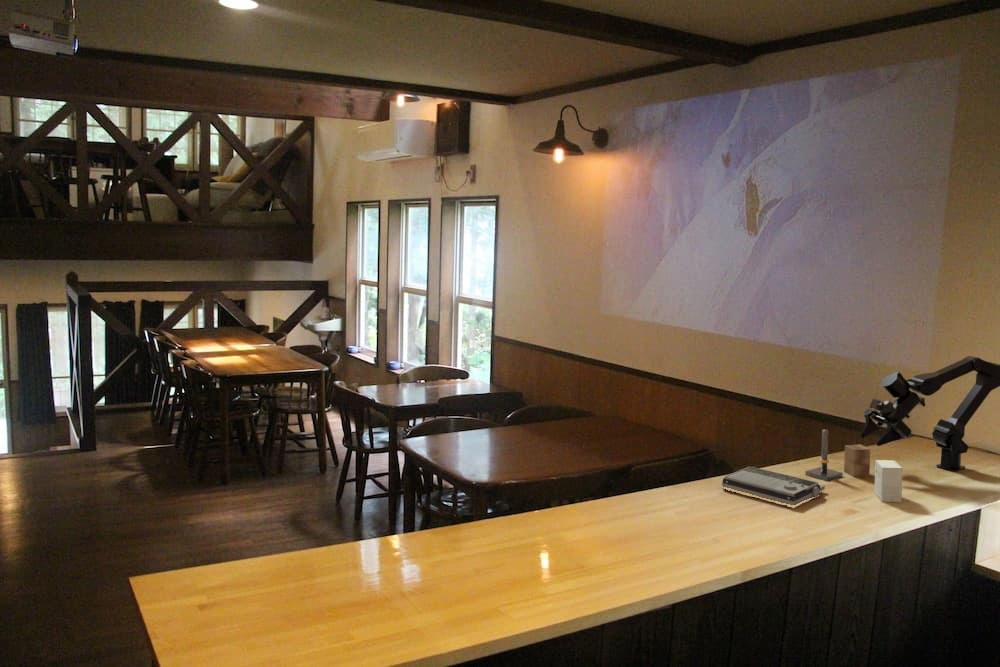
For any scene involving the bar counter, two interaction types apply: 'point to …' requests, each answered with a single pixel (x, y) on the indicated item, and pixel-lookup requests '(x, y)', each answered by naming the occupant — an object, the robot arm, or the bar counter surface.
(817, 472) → the height gauge
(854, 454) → the walnut block
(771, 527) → the bar counter surface
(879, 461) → the small box
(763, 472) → the radio
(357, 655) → the bar counter surface
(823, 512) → the bar counter surface
